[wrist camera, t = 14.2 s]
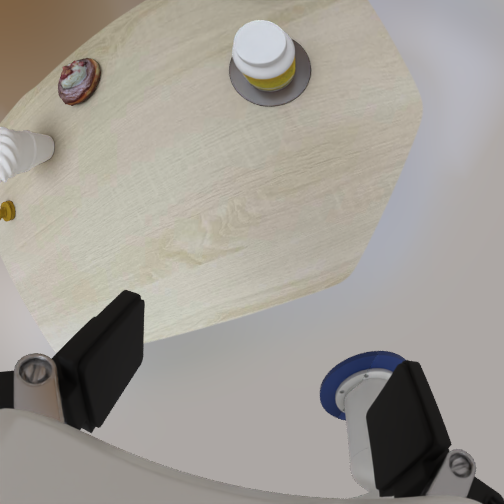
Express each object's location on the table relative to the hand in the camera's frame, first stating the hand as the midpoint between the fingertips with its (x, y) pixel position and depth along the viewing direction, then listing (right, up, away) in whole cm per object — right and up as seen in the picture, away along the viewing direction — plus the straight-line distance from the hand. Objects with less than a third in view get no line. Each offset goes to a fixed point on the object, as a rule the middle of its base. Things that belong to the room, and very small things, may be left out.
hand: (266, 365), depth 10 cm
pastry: (-26, +30, +25) cm, 47 cm away
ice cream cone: (-34, +21, +30) cm, 50 cm away
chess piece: (-48, +12, +35) cm, 60 cm away
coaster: (+2, +26, +22) cm, 35 cm away
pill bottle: (+2, +26, +22) cm, 34 cm away
